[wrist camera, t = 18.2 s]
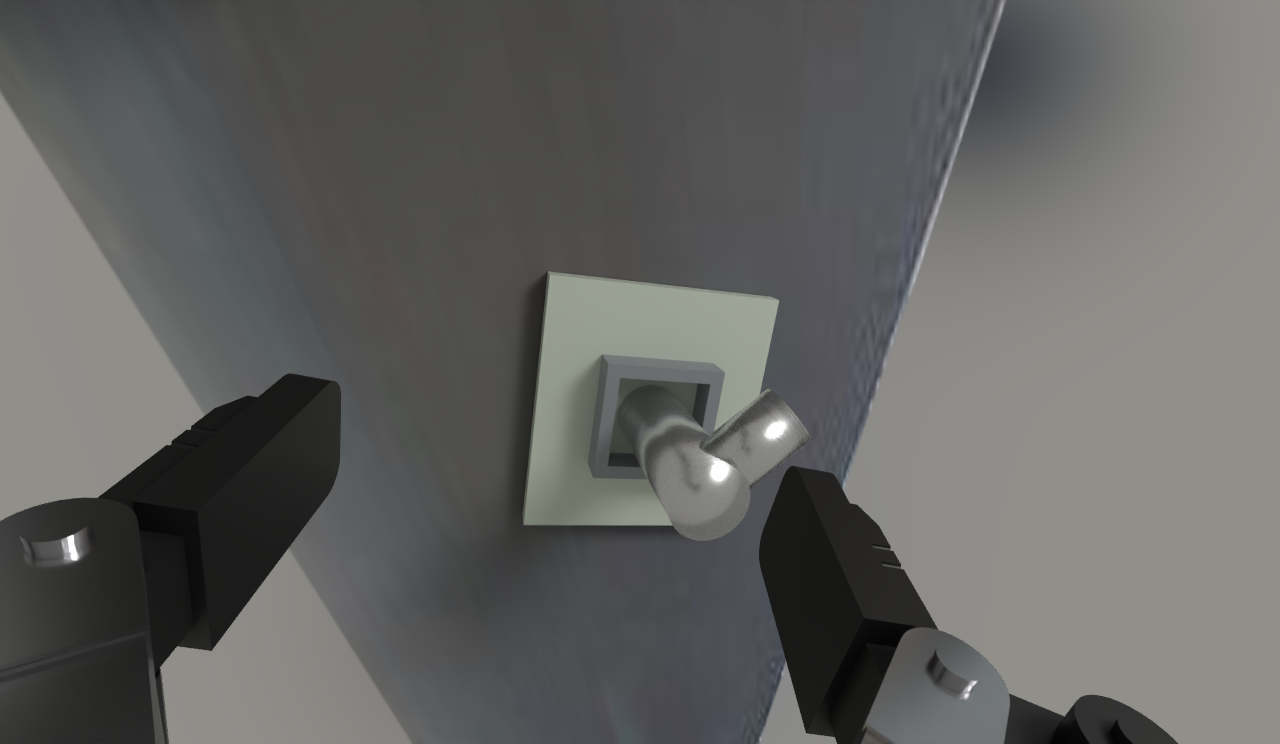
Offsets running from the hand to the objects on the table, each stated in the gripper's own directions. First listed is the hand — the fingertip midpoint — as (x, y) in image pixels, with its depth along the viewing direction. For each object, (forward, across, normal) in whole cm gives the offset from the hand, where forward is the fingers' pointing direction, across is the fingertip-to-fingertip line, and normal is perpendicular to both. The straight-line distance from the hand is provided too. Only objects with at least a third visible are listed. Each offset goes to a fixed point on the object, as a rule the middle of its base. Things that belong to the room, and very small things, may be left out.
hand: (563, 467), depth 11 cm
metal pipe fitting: (+33, -8, +14) cm, 37 cm away
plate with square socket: (+34, -6, +16) cm, 38 cm away
